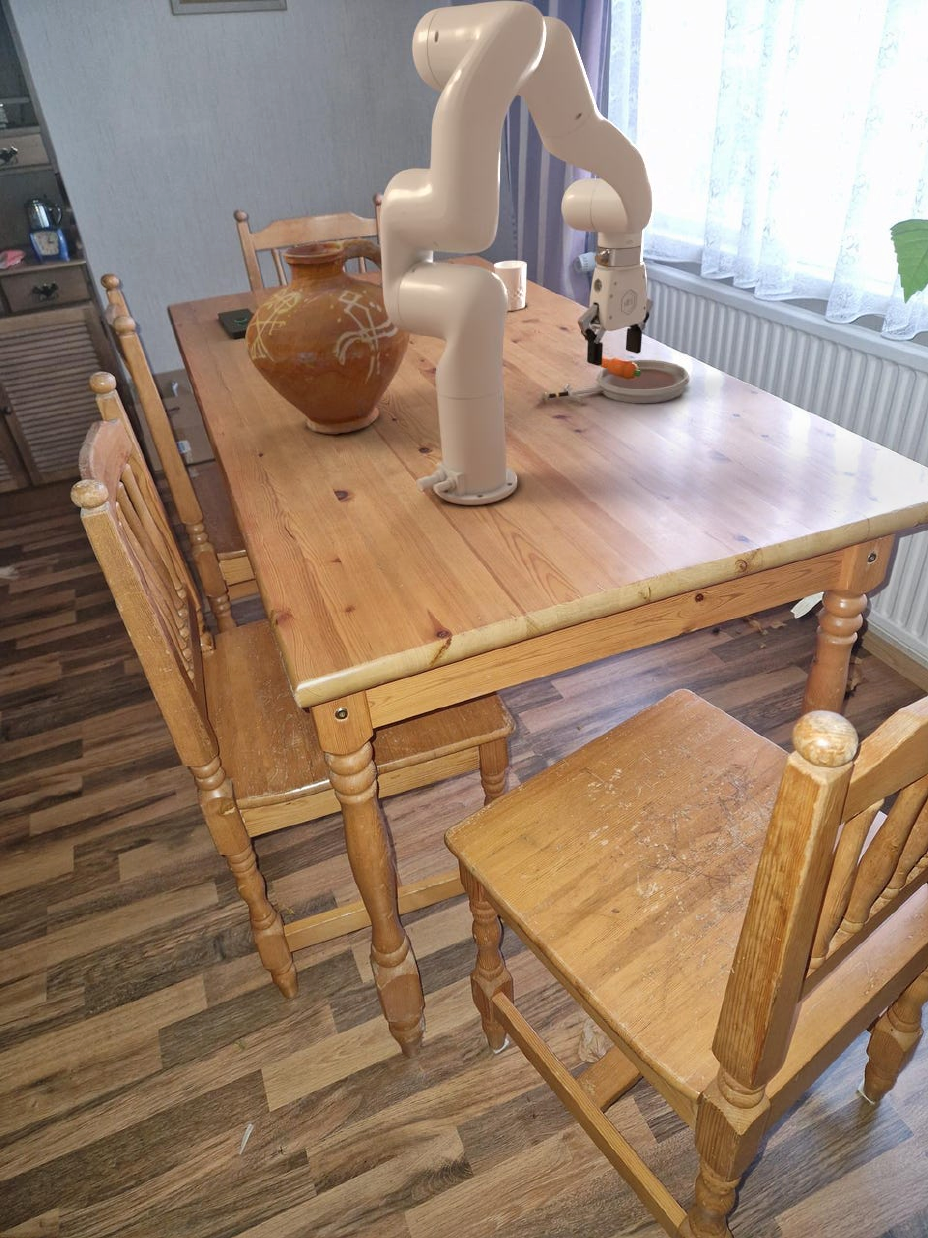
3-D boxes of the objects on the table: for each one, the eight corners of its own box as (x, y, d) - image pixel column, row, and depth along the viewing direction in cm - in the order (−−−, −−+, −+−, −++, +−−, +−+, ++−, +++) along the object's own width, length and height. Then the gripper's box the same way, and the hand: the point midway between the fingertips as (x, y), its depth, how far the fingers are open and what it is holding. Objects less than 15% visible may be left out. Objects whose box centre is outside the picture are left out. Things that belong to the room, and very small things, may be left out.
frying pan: (529, 374, 155) (668, 352, 158) (529, 389, 156) (667, 367, 159) (554, 406, 141) (706, 381, 144) (554, 421, 143) (704, 397, 146)
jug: (253, 410, 155) (215, 241, 138) (394, 383, 162) (374, 219, 145) (281, 467, 134) (239, 275, 116) (441, 432, 141) (425, 247, 123)
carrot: (637, 385, 147) (647, 372, 147) (630, 375, 145) (640, 361, 145) (598, 372, 154) (608, 359, 154) (592, 362, 152) (601, 349, 152)
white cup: (491, 311, 199) (490, 268, 193) (500, 302, 205) (498, 260, 199) (523, 311, 197) (522, 268, 191) (530, 302, 203) (529, 260, 197)
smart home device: (230, 332, 193) (216, 312, 208) (232, 339, 194) (218, 319, 209) (264, 325, 196) (248, 307, 211) (266, 333, 197) (249, 314, 212)
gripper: (597, 268, 130) (593, 373, 140) (671, 250, 138) (662, 351, 148) (566, 261, 135) (564, 363, 145) (639, 245, 143) (632, 343, 153)
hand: (614, 357), depth 147 cm, fingers open, 9 cm apart
